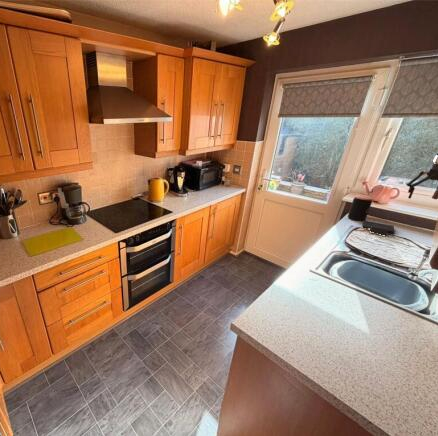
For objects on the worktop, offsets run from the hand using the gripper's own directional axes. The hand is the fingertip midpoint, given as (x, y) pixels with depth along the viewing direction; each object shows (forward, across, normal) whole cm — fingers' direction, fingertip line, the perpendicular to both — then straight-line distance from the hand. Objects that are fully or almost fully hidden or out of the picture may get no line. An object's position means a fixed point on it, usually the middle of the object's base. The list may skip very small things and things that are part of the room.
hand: (426, 200), depth 135 cm
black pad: (+27, +14, -5) cm, 31 cm away
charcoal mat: (+27, +14, -14) cm, 33 cm away
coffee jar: (+27, +26, -27) cm, 46 cm away
